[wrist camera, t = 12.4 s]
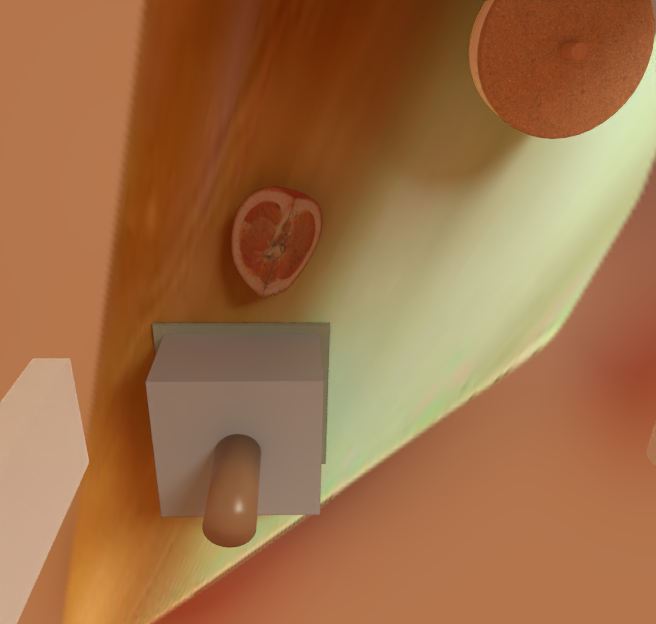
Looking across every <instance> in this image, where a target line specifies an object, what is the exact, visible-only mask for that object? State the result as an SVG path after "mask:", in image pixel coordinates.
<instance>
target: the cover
mask: <svg viewBox="0 0 656 624" xmlns="http://www.w3.org/2000/svg"><path fill="white" fill-rule="evenodd" d="M323 382H324V381H323V369H322V358H321V346H320V335H319V334H164V336H163V339H162V341H161V344H160V346H159V349H158V351H157V354H156V356H155V359H154V362H153V364H152V367H151V369H150V372H149V374H148V377H147V379H146V391H147V399H148V408H149V416H150V425H151V433H152V442H153V450H154V459H155V467H156V476H157V484H158V493H159V501H160V510H161V517H197V516H204V521H203V532H204V535H205V536H206V538H207V539H208V540H209V541H211V542H212V543H214V544H216V545H218V546H222V547H238V546H241V545H244V544H246V543H247V542H249V541H250V540H251V539H252V538H253V536H254V535H255V532H256V523H257V515H306V514H320V490H321V454H322V418H323Z"/></svg>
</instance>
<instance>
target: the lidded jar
mask: <svg viewBox="0 0 656 624" xmlns="http://www.w3.org/2000/svg"><path fill="white" fill-rule="evenodd" d="M654 30H655V20H654V13H653V7H652V3H651V0H486V1H485V3H484V4H483V6H482V7H481V9H480V11H479V13H478V15H477V18H476V20H475V23H474V26H473V29H472V32H471V37H470V43H469V62H470V70H471V74H472V77H473V81H474V84H475V86H476V88H477V90H478V92H479V94H480V96H481V97H482V98H483V100H484V101H485V103H486V104H487V105H488V106H489V107H490V108H491V109H492V110H493V111H494V113H495V114H497V115H498V116H500V117H501V118H502V119H503V120H504V121H505V122H506V123H508V124H509V125H511V126H512V127H514V128H515V129H517V130H519V131H521V132H524V133H526V134H528V135H531V136H535V137H539V138H549V139H556V138H567V137H571V136H575V135H579V134H581V133H584V132H586V131H589V130H591V129H593V128H595V127H596V126H598V125H600V124H602V123H603V122H605V121H606V120H607V119H609V118H610V117H611V116H612V115H614V114H615V113H616V112H617V111H618V110H619V109H620V108H621V107H622V106H623V105H624V104H625V103H626V102H627V100H628V99H629V98H630V96H631V95H632V94H633V93H634V91H635V90H636V88H637V86H638V85H639V83H640V81H641V79H642V78H643V75H644V73H645V71H646V68H647V66H648V63H649V60H650V56H651V53H652V49H653V42H654V35H655V31H654Z"/></svg>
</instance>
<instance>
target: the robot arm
mask: <svg viewBox="0 0 656 624" xmlns="http://www.w3.org/2000/svg"><path fill="white" fill-rule="evenodd" d="M646 455H647V456H648V457H649V459H650V460H651V461H652V462H653V464H654V465H655V466H656V422H655V425H654V428H653V432H652V435H651V438H650V441H649V445H648V448H647V451H646ZM88 464H89V458H88V453H87V447H86V442H85V436H84V431H83V426H82V420H81V415H80V409H79V404H78V399H77V393H76V388H75V382H74V377H73V372H72V366H71V361H70V358H33V359H32V360H31V362H30V363H29V364H28V365H27V367H26V368H25V369H24V371H23V372H22V373H21V375H20V376H19V377H18V379H17V380H16V381H15V383H14V384H13V386H12V387H11V389H10V390H9V391H8V392H7V394H6V395H5V396H4V398H3V399H2V400H1V402H0V624H17V622H18V620H19V618H20V616H21V613H22V611H23V609H24V607H25V604H26V602H27V600H28V598H29V595H30V593H31V591H32V589H33V587H34V584H35V582H36V580H37V577H38V575H39V573H40V571H41V569H42V567H43V564H44V562H45V560H46V558H47V555H48V553H49V551H50V549H51V547H52V544H53V542H54V540H55V538H56V535H57V533H58V531H59V528H60V526H61V524H62V522H63V520H64V517H65V515H66V513H67V511H68V509H69V506H70V504H71V502H72V500H73V497H74V495H75V493H76V491H77V489H78V486H79V484H80V482H81V480H82V478H83V475H84V473H85V471H86V469H87V466H88Z"/></svg>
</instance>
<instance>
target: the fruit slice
mask: <svg viewBox="0 0 656 624" xmlns="http://www.w3.org/2000/svg"><path fill="white" fill-rule="evenodd" d="M321 229H322V215H321V210H320V207H319V205H318V204H317V203H316V201H315V200H313V199H312V198H310V197H308V196H307V195H305V194H303V193H301V192H298V191H295V190H291V189H287V188H281V187H270V188H262V189H259V190H257V191H255V192H253V193H252V194H250V195H249V196H248V197H247V198H246V199H245V200H244V202H243V203H242V205H241V206H240V207H239V209H238V211H237V214H236V216H235V219H234V223H233V228H232V237H231V250H232V257H233V261H234V264H235V266H236V268H237V270H238V272H239V274H240V275H241V277H242V279H243V280H244V281H245V282H246V284H247V285H248V286H249V287H250V288H251V289H252V290H253V291H254V292H255V293H256V294H258V295H259V296H260V297H261V298H265V297H267V296H272V295H277V294H278V293H279V292H284V291H286V290H287V289H288V288H289V287H290V285H292V284H293V282H294V281H295V280H296V278H297V277H298V276H299V274H300V273H301V272H302V270H303V269H304V268H305V266H306V264H307V263H308V261H309V259H310V258H311V256H312V254H313V252H314V250H315V248H316V245H317V243H318V240H319V237H320V234H321Z"/></svg>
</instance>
